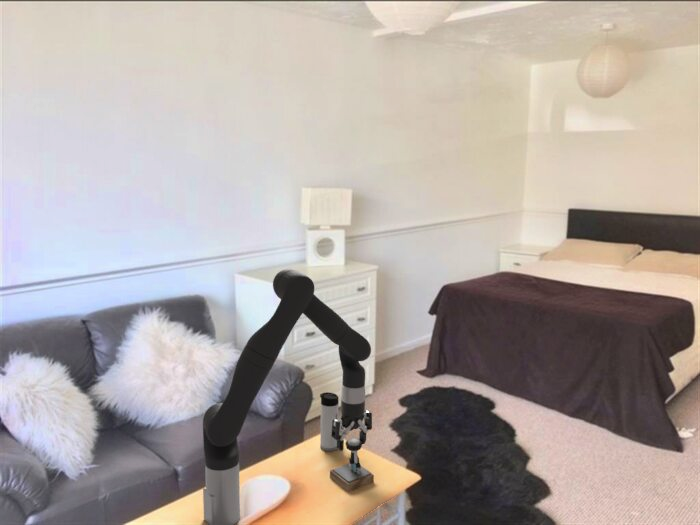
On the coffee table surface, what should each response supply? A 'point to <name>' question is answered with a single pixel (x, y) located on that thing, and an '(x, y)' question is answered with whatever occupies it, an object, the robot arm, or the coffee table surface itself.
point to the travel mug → (328, 420)
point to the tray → (351, 477)
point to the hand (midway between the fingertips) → (351, 446)
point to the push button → (354, 453)
